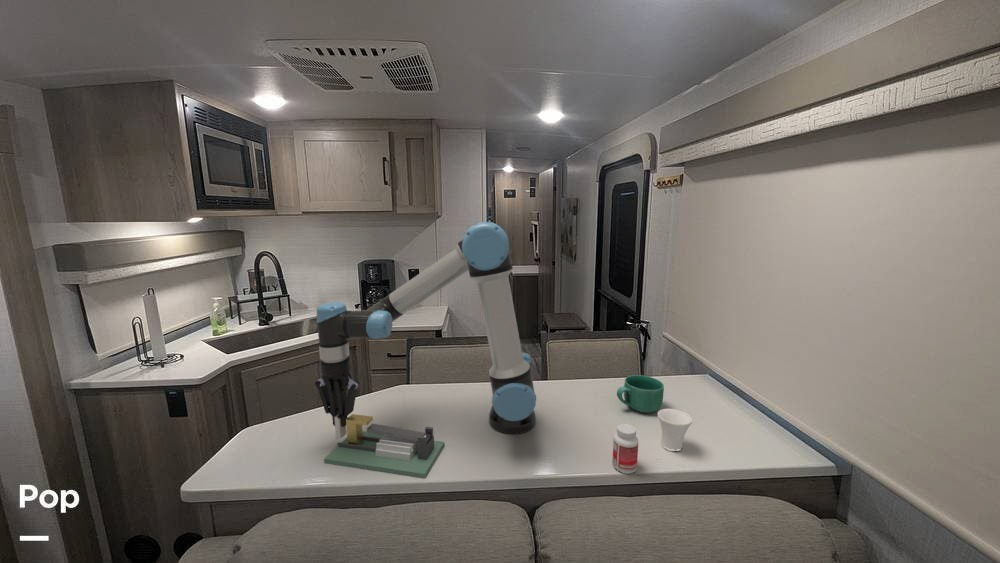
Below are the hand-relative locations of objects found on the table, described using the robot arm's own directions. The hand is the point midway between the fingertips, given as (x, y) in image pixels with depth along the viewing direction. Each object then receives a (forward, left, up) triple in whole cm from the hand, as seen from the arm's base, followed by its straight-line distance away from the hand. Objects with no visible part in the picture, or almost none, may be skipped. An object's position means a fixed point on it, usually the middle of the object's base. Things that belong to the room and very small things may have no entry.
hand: (341, 435), depth 106 cm
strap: (-18, 0, +2) cm, 18 cm away
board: (-15, +1, -3) cm, 15 cm away
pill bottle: (-79, -7, -3) cm, 80 cm away
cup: (-94, -19, -3) cm, 96 cm away
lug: (-6, 0, -2) cm, 6 cm away
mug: (-87, -40, -3) cm, 96 cm away
